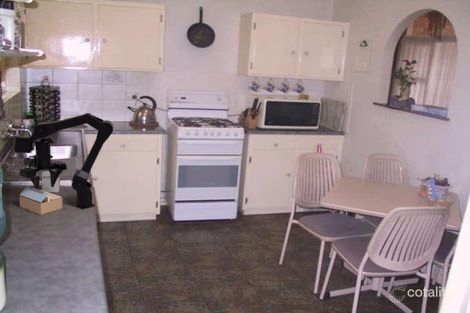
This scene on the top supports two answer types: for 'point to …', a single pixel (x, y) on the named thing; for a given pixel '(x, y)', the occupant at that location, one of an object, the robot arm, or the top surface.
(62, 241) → the top surface
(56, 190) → the supplement box
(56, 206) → the carton
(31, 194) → the flap
